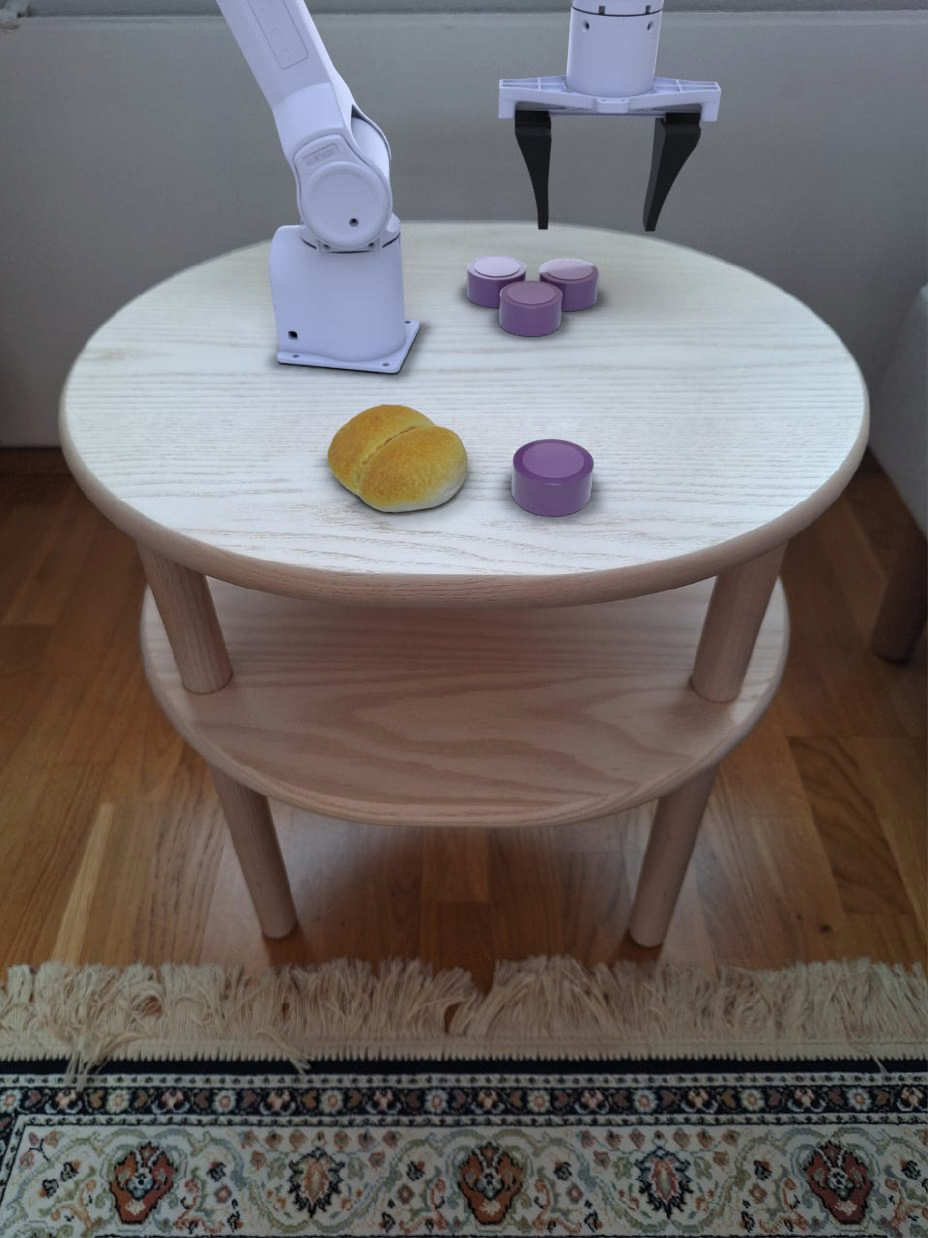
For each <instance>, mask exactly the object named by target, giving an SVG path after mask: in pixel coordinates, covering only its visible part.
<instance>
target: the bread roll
mask: <svg viewBox="0 0 928 1238" xmlns="http://www.w3.org/2000/svg"><path fill="white" fill-rule="evenodd" d="M326 459H327V464H328V467H329V469H330V471H331V473H332V475H333V476H334V477H335V479H336V480H337V481H338V482H339V483H340V484H341V485H342V486H343V487H344V488H345V489H346V490H348V491H350V492H351V493H353V495H356V496H358V497H359V498H360V499H361V500H362V502H364V503H365V504H366V505H367V506H370V507H371V508H373V509H375V510H378V511H381V512H384V513H385V512H387V513H388V512H389V513H390V512H392V513H400V512H402V513H403V512H411V511H417V510H425V509H429V508H430V509H431V508H434V507H437V506H440V505H442V504H444V503H446V502H448V501H449V500H450V499H451V498H452V497H453V496H454V495H456V494H457V493H458V491H459V490H460V489H461V487H462V485H463V484H464V483H465V480H466V476H467V473H468V465H469V464H468V461H469V459H468V453H467V450H466V449H465V446H464V443H463V441H462V439H461V437H460V436H459V435H458V434H457V433H456V432H455V431H453V430H451V429H449V428H447V427H444V426H439V425H437V424H435V423H434V421H432V420H431V418H429V417H427V416H426V415H425V414H424V413H422V412H421V411H418V410H417V409H414V408H412V407H409V406H407V405H403V404H379V405H376V406H373V407H369V408H367V409H365V410H363V411H361V412H359V413H358V414H356V415H355V416H353V417H352V418H351V419H350V420H349V421H347V422H346V423H344V424H343V426H342V427H340V428H339V429H338V430H337V431H336V432H335V434H334V435H333V436H332V438H331V441H330V444H329V446H328V450H327V457H326Z"/></svg>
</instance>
